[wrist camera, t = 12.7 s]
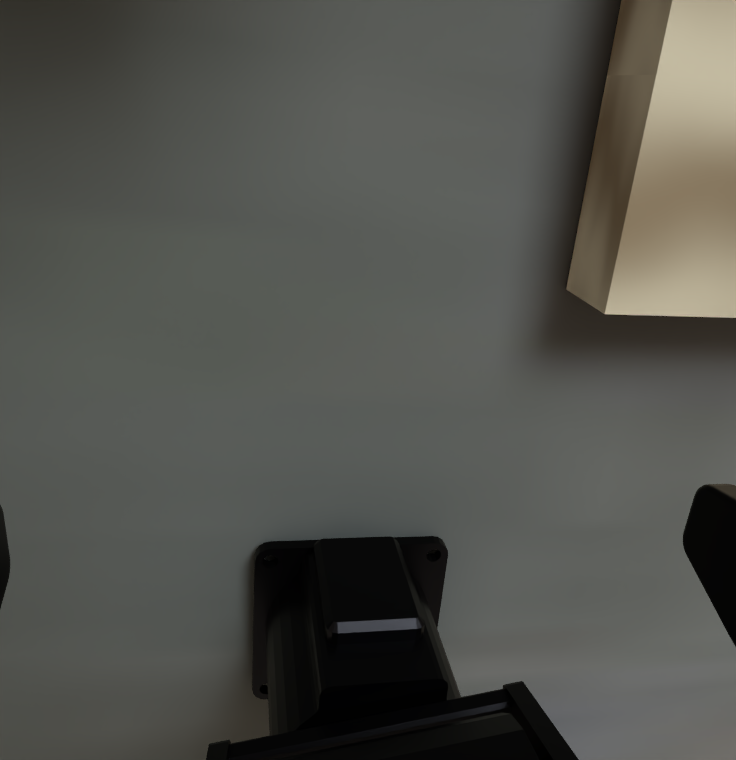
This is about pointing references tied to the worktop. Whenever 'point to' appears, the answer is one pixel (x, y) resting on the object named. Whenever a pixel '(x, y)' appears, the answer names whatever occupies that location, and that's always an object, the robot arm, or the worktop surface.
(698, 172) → the keyhole board
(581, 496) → the worktop surface
